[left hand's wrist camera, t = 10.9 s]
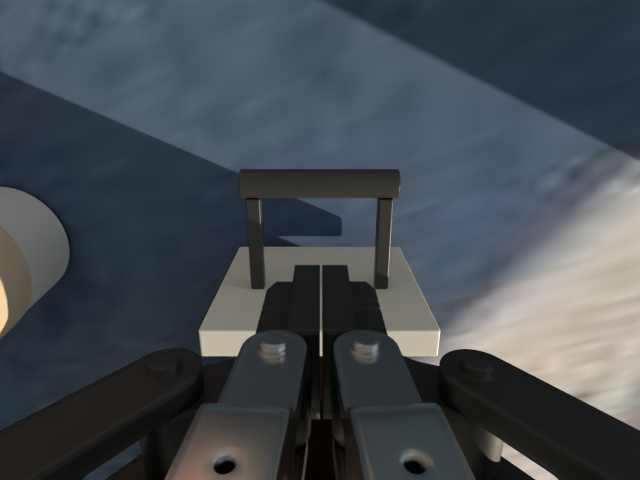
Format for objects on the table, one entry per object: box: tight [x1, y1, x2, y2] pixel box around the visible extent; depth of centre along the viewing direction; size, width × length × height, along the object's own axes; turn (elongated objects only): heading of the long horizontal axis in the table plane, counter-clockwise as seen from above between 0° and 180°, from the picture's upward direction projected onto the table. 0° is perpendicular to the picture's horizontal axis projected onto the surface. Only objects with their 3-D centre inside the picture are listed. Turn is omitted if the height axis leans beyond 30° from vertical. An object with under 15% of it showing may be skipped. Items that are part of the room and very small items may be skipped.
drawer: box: [199, 169, 440, 480], centre depth 23 cm, size 25×9×9 cm, turn 0°
